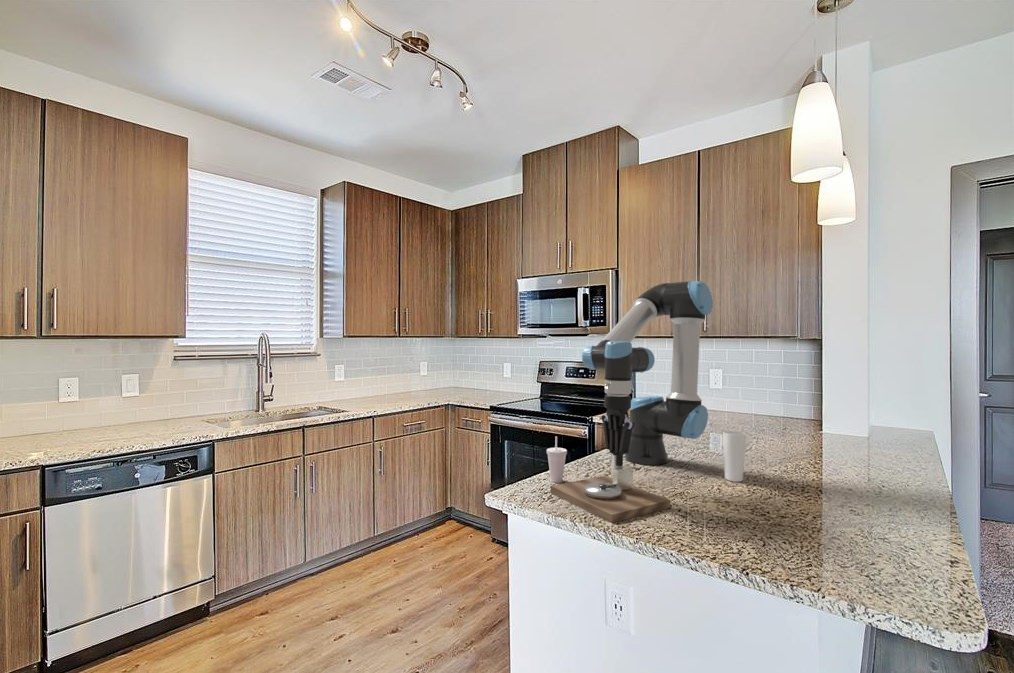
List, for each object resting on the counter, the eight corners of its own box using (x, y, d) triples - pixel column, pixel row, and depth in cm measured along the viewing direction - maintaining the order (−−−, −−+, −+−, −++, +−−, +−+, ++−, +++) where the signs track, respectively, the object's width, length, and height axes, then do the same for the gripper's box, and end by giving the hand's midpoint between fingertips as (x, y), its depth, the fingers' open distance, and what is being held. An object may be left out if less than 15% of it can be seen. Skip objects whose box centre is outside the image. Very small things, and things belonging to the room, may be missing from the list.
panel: (605, 481, 149) (605, 475, 149) (670, 507, 128) (670, 499, 128) (550, 493, 138) (550, 485, 138) (611, 523, 117) (611, 514, 117)
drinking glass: (740, 477, 156) (741, 431, 156) (749, 483, 149) (749, 435, 149) (719, 476, 156) (719, 430, 156) (726, 482, 150) (727, 434, 150)
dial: (617, 482, 142) (618, 462, 142) (643, 492, 133) (643, 470, 133) (576, 490, 134) (577, 469, 134) (601, 502, 125) (601, 479, 125)
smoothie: (543, 481, 149) (543, 436, 149) (550, 476, 154) (551, 433, 154) (562, 485, 146) (562, 439, 146) (569, 479, 151) (570, 435, 151)
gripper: (594, 392, 143) (592, 471, 143) (620, 398, 131) (619, 484, 131) (615, 391, 146) (613, 469, 146) (642, 397, 134) (641, 481, 134)
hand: (616, 476), depth 138 cm, fingers closed
